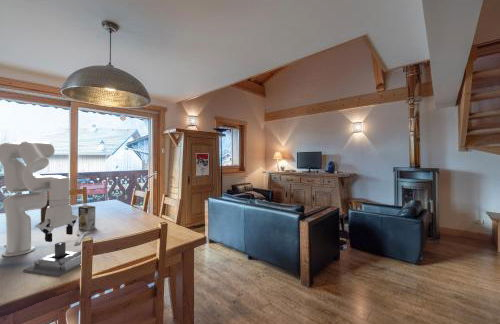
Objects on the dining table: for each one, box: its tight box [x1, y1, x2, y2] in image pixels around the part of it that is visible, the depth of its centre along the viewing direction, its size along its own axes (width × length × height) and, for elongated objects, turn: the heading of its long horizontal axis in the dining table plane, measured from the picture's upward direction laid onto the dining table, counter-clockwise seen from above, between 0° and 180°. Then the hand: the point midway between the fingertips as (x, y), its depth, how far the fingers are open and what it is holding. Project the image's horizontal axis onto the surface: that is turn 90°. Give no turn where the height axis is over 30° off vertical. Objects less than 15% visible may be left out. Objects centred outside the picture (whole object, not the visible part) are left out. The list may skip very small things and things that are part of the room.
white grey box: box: [38, 250, 82, 271], centre depth 109 cm, size 15×11×5 cm
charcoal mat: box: [22, 264, 81, 278], centre depth 110 cm, size 20×16×1 cm
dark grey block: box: [54, 241, 67, 259], centre depth 109 cm, size 4×4×10 cm
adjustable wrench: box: [73, 230, 91, 246], centre depth 146 cm, size 25×6×2 cm, turn 23°
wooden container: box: [40, 197, 49, 224], centre depth 185 cm, size 15×15×22 cm
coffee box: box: [77, 205, 96, 231], centre depth 166 cm, size 9×6×16 cm
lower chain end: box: [33, 259, 61, 270], centre depth 110 cm, size 15×11×3 cm
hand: (59, 237), depth 109 cm, fingers open, 9 cm apart
